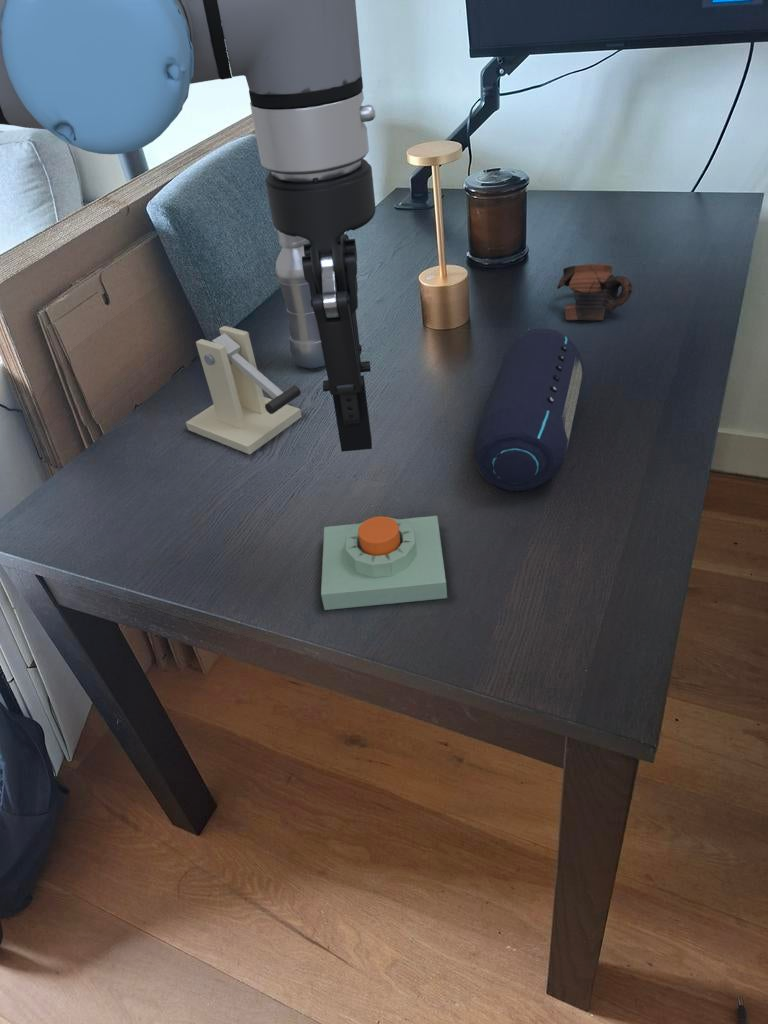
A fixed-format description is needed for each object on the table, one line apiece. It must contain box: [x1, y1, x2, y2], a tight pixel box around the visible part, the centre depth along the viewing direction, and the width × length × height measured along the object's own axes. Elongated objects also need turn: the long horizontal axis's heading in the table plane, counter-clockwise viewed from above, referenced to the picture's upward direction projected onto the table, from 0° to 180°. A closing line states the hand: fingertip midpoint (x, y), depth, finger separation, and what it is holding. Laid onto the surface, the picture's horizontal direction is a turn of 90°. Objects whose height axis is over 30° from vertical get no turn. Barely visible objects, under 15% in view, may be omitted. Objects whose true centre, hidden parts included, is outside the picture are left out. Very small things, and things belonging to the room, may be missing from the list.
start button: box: [358, 516, 400, 556], centre depth 75 cm, size 4×4×2 cm
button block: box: [320, 515, 448, 611], centre depth 76 cm, size 12×10×4 cm
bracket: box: [185, 325, 303, 455], centre depth 98 cm, size 12×10×13 cm
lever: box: [211, 333, 301, 414], centre depth 95 cm, size 12×5×2 cm, turn 52°
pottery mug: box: [556, 263, 633, 322], centre depth 115 cm, size 12×10×8 cm
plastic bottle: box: [274, 230, 325, 369], centre depth 107 cm, size 6×7×20 cm
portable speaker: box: [474, 327, 585, 492], centre depth 89 cm, size 25×10×10 cm, turn 163°
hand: (356, 445), depth 68 cm, fingers closed
